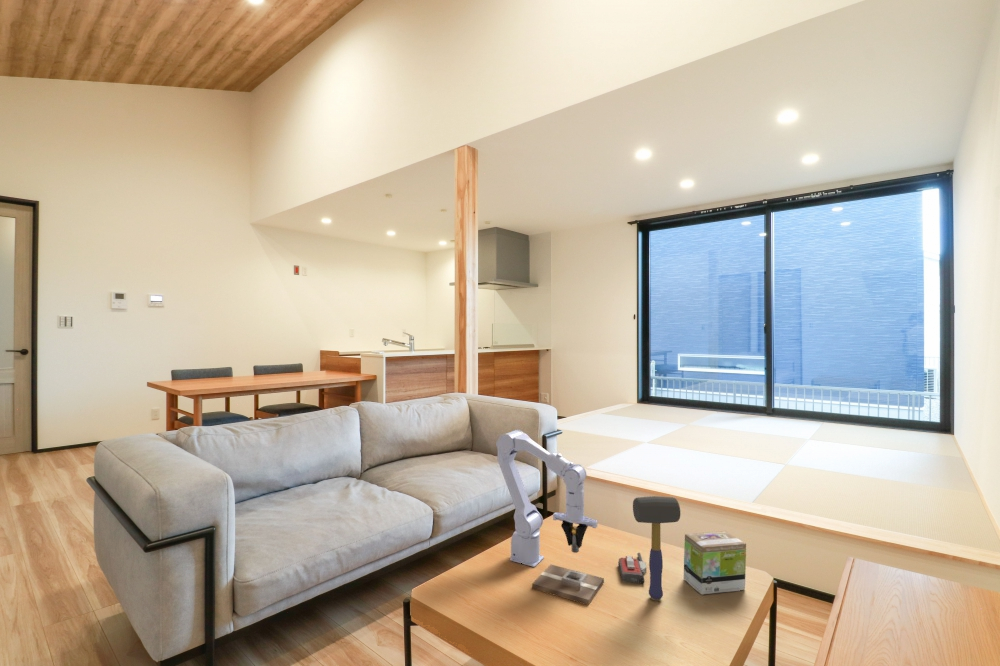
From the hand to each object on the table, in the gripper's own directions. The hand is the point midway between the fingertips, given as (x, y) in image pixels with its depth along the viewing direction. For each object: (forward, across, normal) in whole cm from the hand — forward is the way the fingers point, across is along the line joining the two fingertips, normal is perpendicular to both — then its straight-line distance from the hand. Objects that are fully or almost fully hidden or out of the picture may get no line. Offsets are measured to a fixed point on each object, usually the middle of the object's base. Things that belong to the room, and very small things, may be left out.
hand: (574, 545), depth 158 cm
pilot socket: (+7, -3, +9) cm, 12 cm away
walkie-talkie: (+10, -16, -12) cm, 22 cm away
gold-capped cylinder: (+2, 0, 0) cm, 2 cm away
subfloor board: (+9, -1, +9) cm, 12 cm away
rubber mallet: (+9, -26, +3) cm, 28 cm away
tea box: (+9, -40, -14) cm, 44 cm away
